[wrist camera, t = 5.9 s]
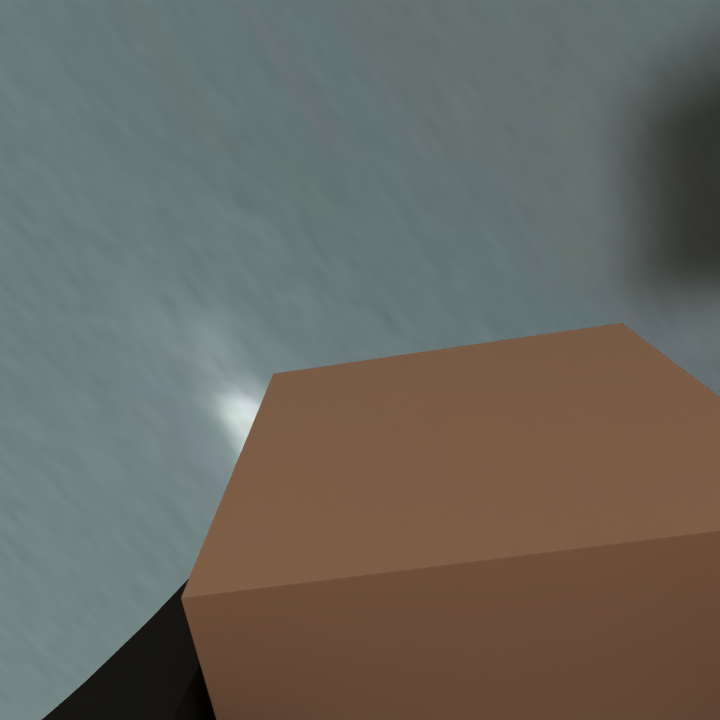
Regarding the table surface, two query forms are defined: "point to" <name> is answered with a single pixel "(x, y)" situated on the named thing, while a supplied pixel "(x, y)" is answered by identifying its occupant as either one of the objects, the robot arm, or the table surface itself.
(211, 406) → the table surface
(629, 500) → the terracotta block
